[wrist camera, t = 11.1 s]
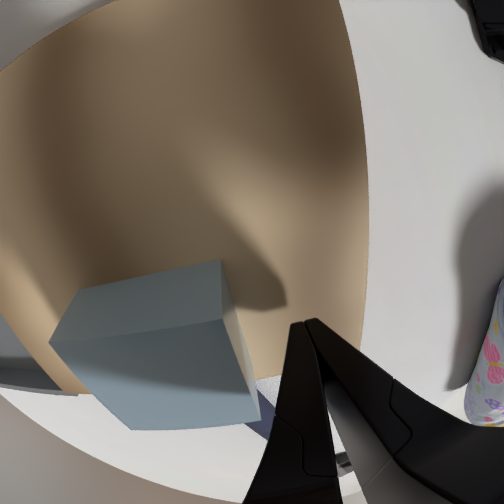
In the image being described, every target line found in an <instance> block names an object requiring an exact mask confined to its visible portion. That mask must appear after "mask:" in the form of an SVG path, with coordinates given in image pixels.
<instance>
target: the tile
mask: <svg viewBox="0 0 504 504" xmlns="http://www.w3.org/2000/svg"><path fill="white" fill-rule="evenodd" d="M48 343H49V344H50V346H51V347H52V348H53V349H54V351H55V352H56V353H57V354H58V356H59V357H60V358H61V359H62V361H63V362H64V363H65V364H66V365H67V367H68V368H69V369H70V370H71V371H72V372H73V374H74V375H75V376H76V377H77V378H78V379H79V380H80V381H81V383H82V384H83V385H84V386H85V387H86V388H87V389H88V390H89V391H90V392H91V393H92V394H93V395H94V396H95V397H96V398H97V399H98V400H99V401H100V402H101V403H102V404H103V405H104V406H105V407H106V408H107V409H108V410H109V411H110V412H111V413H112V414H113V415H115V416H116V417H117V418H118V419H119V420H120V421H121V422H122V423H123V424H125V425H126V426H127V427H128V428H129V429H130V430H180V429H196V428H208V427H218V426H227V425H234V424H241V423H248V422H254V421H260V420H261V414H260V408H259V401H258V395H257V388H256V382H255V375H254V368H253V364H252V361H251V358H250V355H249V351H248V348H247V345H246V342H245V339H244V335H243V332H242V329H241V326H240V322H239V319H238V316H237V313H236V309H235V306H234V303H233V299H232V296H231V292H230V289H229V286H228V282H227V279H226V275H225V272H224V268H223V265H222V261H221V259H218V260H213V261H209V262H204V263H199V264H195V265H190V266H186V267H181V268H177V269H172V270H167V271H163V272H158V273H154V274H149V275H144V276H140V277H135V278H131V279H126V280H122V281H117V282H112V283H108V284H103V285H99V286H94V287H90V288H85V289H80V290H78V291H77V293H76V294H75V296H74V298H73V299H72V301H71V303H70V304H69V306H68V308H67V309H66V311H65V313H64V315H63V316H62V318H61V320H60V322H59V323H58V325H57V327H56V329H55V331H54V333H53V334H52V336H51V338H50V340H49V342H48Z"/></svg>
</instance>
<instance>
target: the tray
mask: <svg viewBox="0 0 504 504" xmlns="http://www.w3.org/2000/svg"><path fill="white" fill-rule="evenodd" d="M0 387H3V388H8V389H14V390H20V391H27V392H35V393H43V394H53V395H65V396H78V394H75V393H65V392H64V391H63V390H62V389H61V388H60V387H59V386H58V385H57V384H56V383H55V382H54V381H53V380H52V379H51V378H50V376H49V375H48V374H47V373H46V372H45V371H44V370H43V369H42V367H41V366H40V365H39V364H38V363H37V362H36V360H35V359H34V358H33V357H32V355H31V354H30V353H29V352H28V350H27V349H26V348H25V347H24V345H23V344H22V343H21V341H20V340H19V339H18V337H17V336H16V335H15V333H14V332H13V330H12V329H11V328H10V326H9V325H8V323H7V322H6V320H5V319H4V317H3V316H2V314H1V313H0Z"/></svg>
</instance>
